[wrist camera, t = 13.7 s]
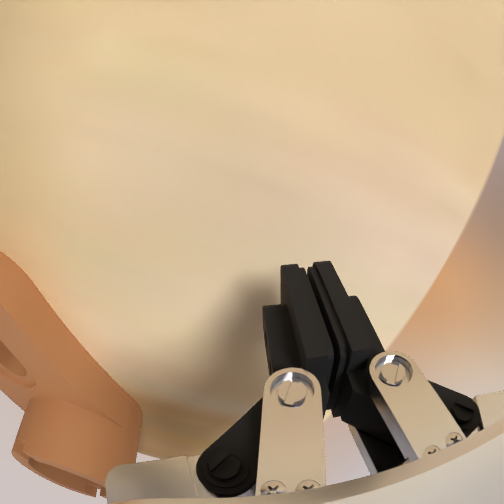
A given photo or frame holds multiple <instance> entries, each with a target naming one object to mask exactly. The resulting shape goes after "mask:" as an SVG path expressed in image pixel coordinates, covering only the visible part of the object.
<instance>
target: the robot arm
mask: <svg viewBox="0 0 504 504" xmlns="http://www.w3.org/2000/svg"><path fill="white" fill-rule="evenodd" d="M263 327H264V338H265V347H266V354H267V361H268V368H269V375H270V377H269V378H268V380H267V381H266V382H265V386H264V391H263V397H262V398H261V399H260V400H259V401H258V402H257V403H256V404H255V405H254V406H253V407H252V408H251V409H250V410H249V411H248V412H247V413H246V414H245V415H244V416H243V417H242V418H241V419H240V420H238V421H237V422H236V423H235V424H234V425H233V426H232V427H231V428H230V429H229V430H228V431H226V432H225V433H224V434H223V435H222V436H221V437H220V438H219V439H218V440H216V441H215V442H214V443H213V444H212V445H211V446H210V447H208V448H207V449H206V450H205V451H204V452H203V453H202V454H201V455H196V456H191V457H186V455H184V456H178V457H173V458H167V459H160V460H154V461H147V462H139V463H130V464H122V465H119V466H115V467H114V468H113V469H111V470H110V471H109V473H108V475H107V476H106V481H105V488H106V496H107V503H108V504H504V390H503V391H498V392H493V393H488V394H483V395H477V396H475V397H474V398H473V399H471V398H469V397H467V396H465V395H463V394H460V393H458V392H455V391H453V390H450V389H448V388H445V387H443V386H441V385H438V384H436V383H433V382H431V381H429V380H427V379H426V377H425V376H424V375H423V373H422V372H421V371H420V369H419V368H418V366H417V365H416V363H415V362H414V361H413V360H412V359H411V358H410V357H409V356H407V355H406V354H404V353H401V352H398V351H386V352H385V350H384V348H383V346H382V344H381V342H380V340H379V338H378V336H377V334H376V332H375V330H374V328H373V326H372V324H371V322H370V320H369V318H368V316H367V314H366V312H365V310H364V308H363V306H362V304H361V302H360V301H359V299H358V297H357V296H348V295H347V293H346V291H345V289H344V287H343V285H342V283H341V281H340V279H339V277H338V275H337V273H336V271H335V269H334V267H333V265H332V263H331V262H330V261H322V262H314V263H313V267H308V270H307V274H306V271H305V269H304V268H299V266H298V264H291V265H281V304H280V305H270V306H263ZM329 409H331V411H332V415H333V417H338V416H341V419H342V421H344V422H346V423H348V426H349V430H350V432H351V434H352V436H353V438H354V440H355V443H356V445H357V447H358V449H359V451H360V453H361V455H362V457H363V459H364V461H365V463H366V466H367V468H368V470H369V472H370V474H371V475H370V476H366V477H362V478H359V479H354V480H350V481H346V482H342V483H338V484H333V485H328V486H326V474H325V473H326V472H325V449H324V448H325V447H324V428H323V418H324V415H325V411H326V410H329Z"/></svg>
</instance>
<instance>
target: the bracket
mask: <svg viewBox="0 0 504 504" xmlns="http://www.w3.org/2000/svg"><path fill="white" fill-rule="evenodd" d="M0 390H2V391H3V392H4V393H5V394H6V395H7V396H8V397H9V398H10V399H11V400H12V401H13V402H15V403H16V404H17V405H18V406H19V407H21V409H23V410H24V411H25V414H24V416H23V419H22V422H21V425H20V428H19V431H18V433H17V437H16V440H15V443H14V446H13V449H12V455H13V456H14V458H15V459H16V460H17V461H19V462H20V463H21V464H22V465H24V466H25V467H27V468H28V469H30V470H31V471H33V472H34V473H36V474H38V475H39V476H41V477H43V478H45V479H47V480H49V481H51V482H54V483H56V484H58V485H60V486H62V487H65V488H68V489H70V490H73V491H76V492H79V493H82V494H85V495H89V496H93V497H96V492H97V489H101V491H100V496H102V497H104V498H107V496H106V488H105V481H106V476H107V475H108V473H109V471H110V470H111V469H113V468H114V467H115V466H119V465H122V464H130V463H136V455H137V448H138V441H139V434H140V428H141V421H142V411H141V409H140V407H139V405H138V404H137V403H136V402H135V400H134V399H133V398H132V397H131V396H129V395H128V394H127V393H126V392H125V391H124V390H123V389H122V388H121V387H120V386H119V385H118V384H117V383H116V382H115V381H114V380H113V379H112V378H111V377H110V376H109V375H108V374H107V373H106V371H105V370H104V369H103V368H102V367H101V366H100V365H99V364H98V363H97V362H96V361H95V360H94V359H93V357H92V356H91V355H90V354H89V353H88V352H87V351H86V350H85V348H84V347H83V346H82V345H81V344H80V343H79V341H78V340H77V339H76V338H75V337H74V336H73V334H72V333H71V332H70V331H69V329H68V328H67V327H66V326H65V324H64V323H63V322H62V321H61V319H60V318H59V317H58V316H57V314H56V313H55V312H54V310H53V309H52V308H51V306H50V305H49V304H48V302H47V301H46V300H45V298H44V297H43V295H42V294H41V293H40V291H39V290H38V288H37V287H36V286H35V284H34V283H33V282H32V280H31V279H30V278H29V277H28V276H27V274H26V273H25V272H24V271H23V270H22V269H21V268H20V267H19V266H18V265H17V264H16V263H15V262H14V261H12V260H11V259H10V258H9V257H7V256H6V255H5V254H3V253H2V252H0Z"/></svg>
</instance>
